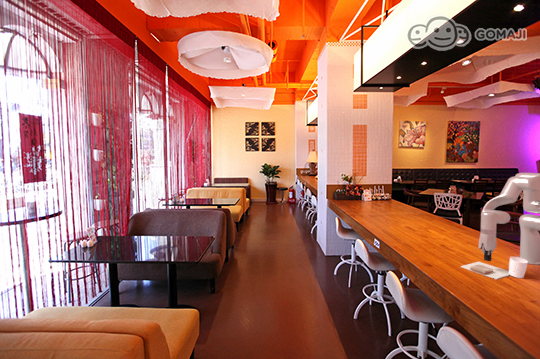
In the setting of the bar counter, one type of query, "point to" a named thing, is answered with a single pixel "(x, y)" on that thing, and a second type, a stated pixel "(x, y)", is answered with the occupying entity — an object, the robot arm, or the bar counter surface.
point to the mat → (496, 272)
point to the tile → (481, 269)
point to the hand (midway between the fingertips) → (487, 260)
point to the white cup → (517, 267)
